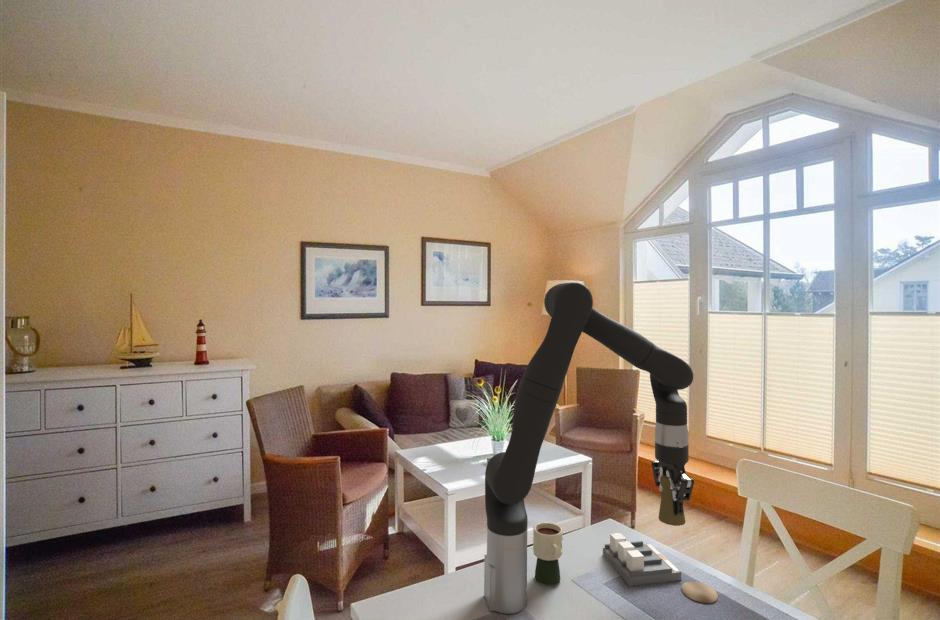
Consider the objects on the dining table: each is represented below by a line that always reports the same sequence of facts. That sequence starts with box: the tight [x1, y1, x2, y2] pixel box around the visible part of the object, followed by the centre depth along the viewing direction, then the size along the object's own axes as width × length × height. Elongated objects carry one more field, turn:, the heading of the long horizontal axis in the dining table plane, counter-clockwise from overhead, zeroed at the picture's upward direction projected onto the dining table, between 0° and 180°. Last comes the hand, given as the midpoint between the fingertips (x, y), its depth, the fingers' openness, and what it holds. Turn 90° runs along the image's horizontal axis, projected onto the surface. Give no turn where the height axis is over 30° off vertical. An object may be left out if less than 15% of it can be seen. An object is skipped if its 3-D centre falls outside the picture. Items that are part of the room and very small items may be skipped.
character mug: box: [532, 521, 564, 586], centre depth 116 cm, size 11×7×13 cm, turn 12°
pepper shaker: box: [658, 475, 686, 527], centre depth 114 cm, size 6×6×11 cm
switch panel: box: [602, 540, 682, 586], centre depth 122 cm, size 14×14×3 cm
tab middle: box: [618, 540, 635, 562], centre depth 121 cm, size 3×3×4 cm
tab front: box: [626, 550, 644, 571], centre depth 117 cm, size 3×3×4 cm
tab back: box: [609, 532, 627, 553], centre depth 126 cm, size 3×3×4 cm
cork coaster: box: [681, 581, 718, 604], centre depth 111 cm, size 8×8×1 cm
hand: (671, 510), depth 114 cm, fingers closed on pepper shaker, 4 cm apart
